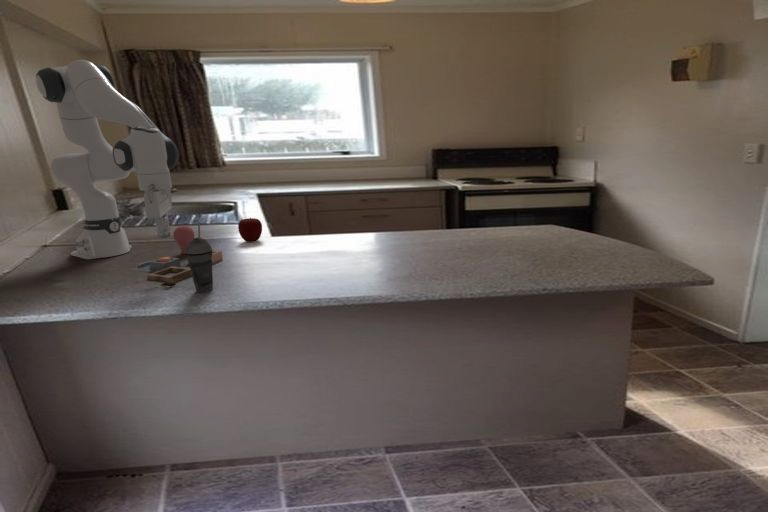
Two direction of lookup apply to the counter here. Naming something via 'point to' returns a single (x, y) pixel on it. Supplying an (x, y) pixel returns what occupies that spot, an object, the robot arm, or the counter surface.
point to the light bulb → (183, 236)
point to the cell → (166, 231)
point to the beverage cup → (200, 263)
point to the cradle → (158, 265)
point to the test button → (164, 259)
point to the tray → (173, 278)
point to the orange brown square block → (215, 256)
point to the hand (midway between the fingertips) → (162, 228)
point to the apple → (250, 229)
